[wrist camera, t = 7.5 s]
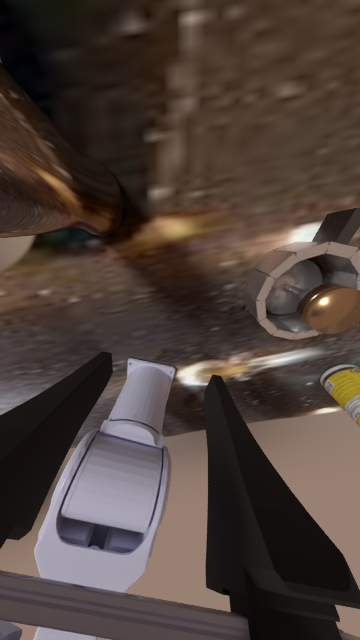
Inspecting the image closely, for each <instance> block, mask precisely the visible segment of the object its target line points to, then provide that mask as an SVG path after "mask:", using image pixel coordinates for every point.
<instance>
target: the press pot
mask: <svg viewBox="0 0 360 640" xmlns="http://www.w3.org/2000/svg"><path fill="white" fill-rule="evenodd" d="M359 227H360V208H354V209H349V210H344V211H340V212H335V213H330V214H327V216H326V217H325V219H324V221H323V223H322V224H321V226H320V228H319V230H318V232H317V233H316V235H315V237H314V239H313V240H312V242H295V243H292V244H288V245H285V246H282V247H279V248H276V249H273V251H270V252H269V253H268V254H267V255H265V256H264V257H263V258H262V259H261V260H260V261H259V262H258V263H257V264H256V265H255V266H253V268H254V269H255V270H254V269H251V271H250V273H249V276H248V278H247V281H246V283H245V285H244V289H243V292H244V299H245V306H246V307H247V309H248V310H249V311H250V312H251V314H252V315H253V316H254V317H255V318H256V320H257V321H258V322H259V323H260V324H261V325H262V326H263V327H264V328H265V329H266V330H267V331H268V332H269V333H270V334H271V335H273V336H277V337H282V338H287V339H291V340H293V339H294V340H296V339H301V338H306V337H311V336H316V335H318V333H319V334H322V333H320V332H317V331H316V330H314V329H313V328H312V327H310V326H309V325H307V324H306V323H305V322H303V321H302V320H301V319H300V318H299V316H298V311H295V312H293V313H289V314H284V315H280V316H273V315H268V314H266V307H265V299H266V297H267V295H268V293H269V292H270V290H271V288H272V286H273V284H274V282H275V280H276V279H277V278H278V277H279V276H281V275H282V274H283V273H284V272H286V271H287V270H288V269H289V268H290V267H292V266H293V265H294V264H295V263H297V262H298V261H301V260H305V259H308V258H311V257H315V259H316V260H317V261H318V263H319V264H320V266H321V267H322V281H321V285H324V284H330V283H335V284H340V285H343V286H347V287H350V288H354V289H357V290H360V249H358V248H357V247H352V246H348V245H347V244H348V243H349V241H350V240H351V238H352V237H353V235H354V234H355V233H356V231H357V230H358V228H359Z"/></svg>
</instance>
